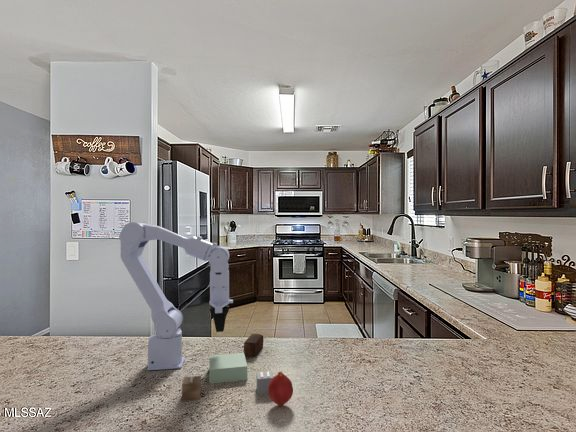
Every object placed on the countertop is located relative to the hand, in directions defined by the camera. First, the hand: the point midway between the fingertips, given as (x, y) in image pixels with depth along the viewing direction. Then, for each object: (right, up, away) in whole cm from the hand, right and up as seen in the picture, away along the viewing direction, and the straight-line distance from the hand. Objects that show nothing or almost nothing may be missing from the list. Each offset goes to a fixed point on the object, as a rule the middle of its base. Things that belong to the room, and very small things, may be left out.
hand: (219, 331), depth 109 cm
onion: (+19, -9, -26) cm, 33 cm away
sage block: (+4, -10, -8) cm, 13 cm away
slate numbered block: (+15, -9, -18) cm, 25 cm away
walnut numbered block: (-3, -9, -21) cm, 23 cm away
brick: (+9, -10, +9) cm, 16 cm away
